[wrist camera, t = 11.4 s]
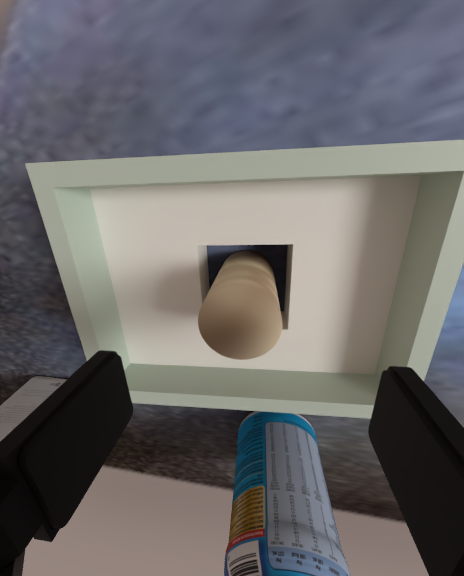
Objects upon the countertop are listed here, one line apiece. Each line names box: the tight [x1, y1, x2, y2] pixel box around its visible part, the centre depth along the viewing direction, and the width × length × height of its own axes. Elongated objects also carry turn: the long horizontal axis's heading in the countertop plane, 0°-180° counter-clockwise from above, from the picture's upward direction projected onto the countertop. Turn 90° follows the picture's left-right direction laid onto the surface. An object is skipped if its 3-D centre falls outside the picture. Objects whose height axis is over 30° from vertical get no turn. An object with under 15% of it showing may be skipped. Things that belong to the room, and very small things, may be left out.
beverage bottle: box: [224, 411, 350, 576], centre depth 17 cm, size 8×8×20 cm
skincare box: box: [0, 376, 67, 441], centre depth 21 cm, size 8×6×15 cm
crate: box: [25, 140, 464, 419], centre depth 17 cm, size 16×22×6 cm
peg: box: [198, 250, 282, 360], centre depth 16 cm, size 4×4×8 cm
